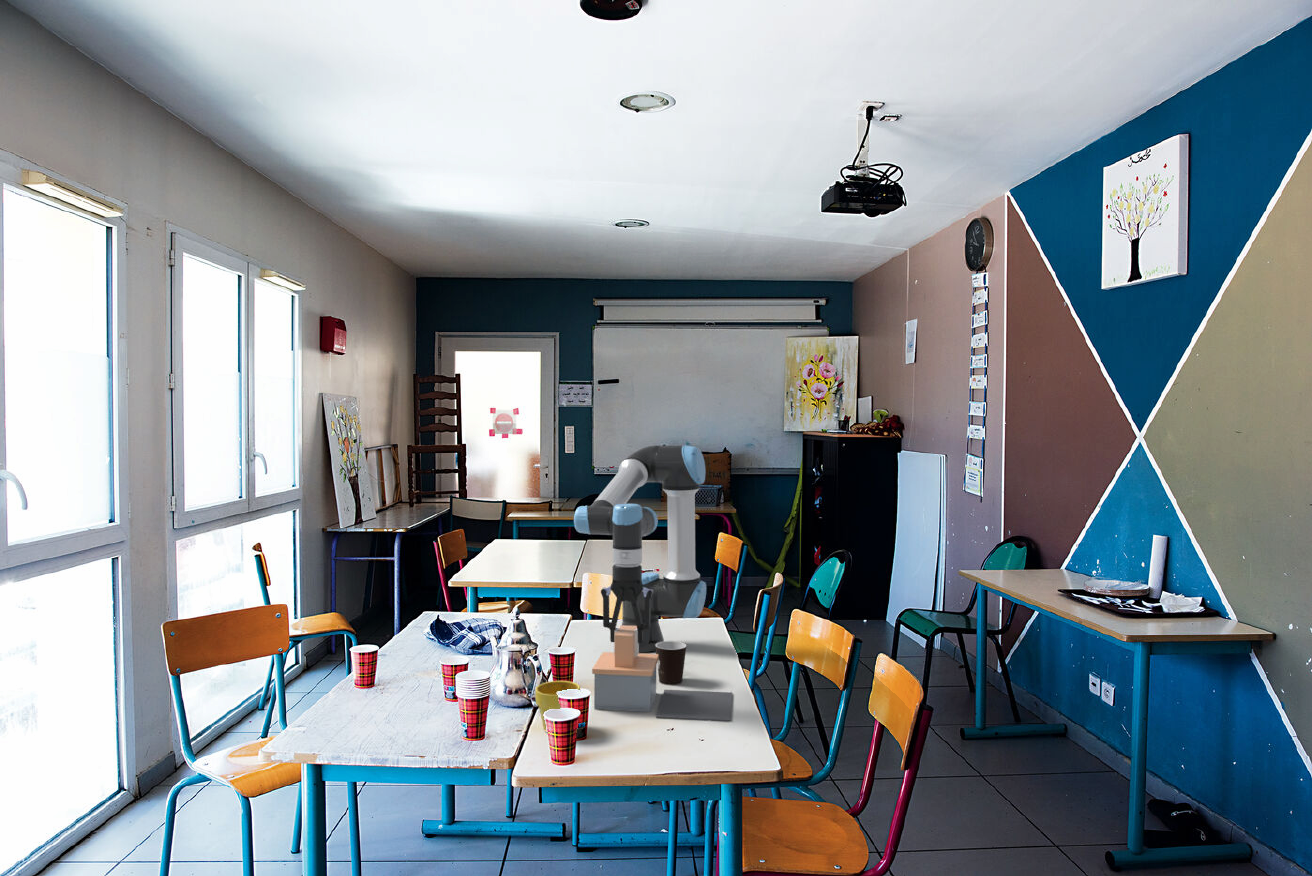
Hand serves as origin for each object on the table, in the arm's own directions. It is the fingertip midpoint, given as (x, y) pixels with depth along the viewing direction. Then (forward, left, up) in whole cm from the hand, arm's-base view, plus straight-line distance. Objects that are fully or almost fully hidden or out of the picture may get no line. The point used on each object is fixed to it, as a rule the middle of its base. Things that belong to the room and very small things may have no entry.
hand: (626, 654), depth 206 cm
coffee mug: (-19, +10, -12) cm, 25 cm away
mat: (+1, +18, -12) cm, 22 cm away
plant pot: (+21, -13, -12) cm, 27 cm away
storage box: (0, 0, -12) cm, 12 cm away
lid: (0, 0, -4) cm, 4 cm away
